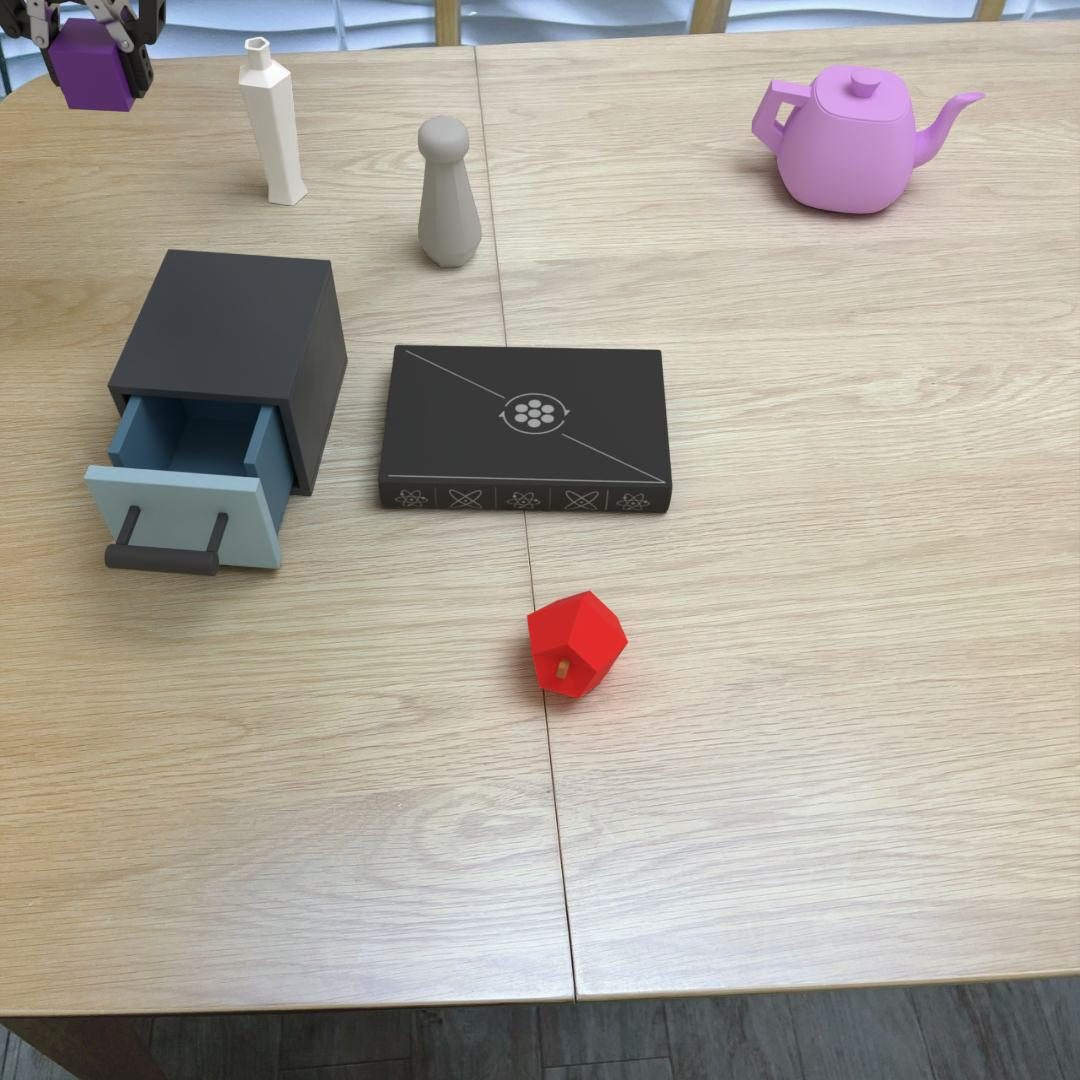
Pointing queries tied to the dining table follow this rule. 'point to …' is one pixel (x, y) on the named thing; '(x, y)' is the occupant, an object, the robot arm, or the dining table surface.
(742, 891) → the dining table surface
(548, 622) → the apple
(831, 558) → the dining table surface
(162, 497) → the drawer
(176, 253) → the dark grey cabinet
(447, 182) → the salt shaker
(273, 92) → the white tall faceted bottle
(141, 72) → the robot arm
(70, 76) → the block
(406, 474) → the book
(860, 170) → the teapot
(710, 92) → the dining table surface
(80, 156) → the dining table surface
